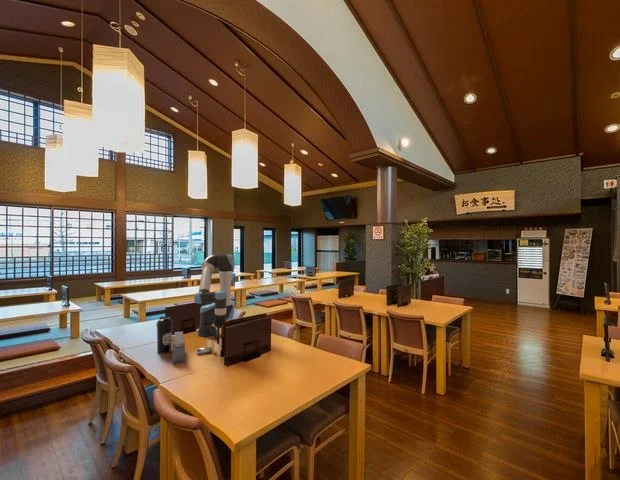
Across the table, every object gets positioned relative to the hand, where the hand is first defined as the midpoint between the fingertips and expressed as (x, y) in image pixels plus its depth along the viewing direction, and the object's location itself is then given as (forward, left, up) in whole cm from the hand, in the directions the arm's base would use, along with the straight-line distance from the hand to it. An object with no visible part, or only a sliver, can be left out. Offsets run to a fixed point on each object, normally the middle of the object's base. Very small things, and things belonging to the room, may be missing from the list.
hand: (220, 348), depth 208 cm
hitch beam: (+21, -16, -2) cm, 26 cm away
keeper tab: (+25, -11, +8) cm, 28 cm away
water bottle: (+17, -33, -2) cm, 37 cm away
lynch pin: (+8, -7, -2) cm, 10 cm away
